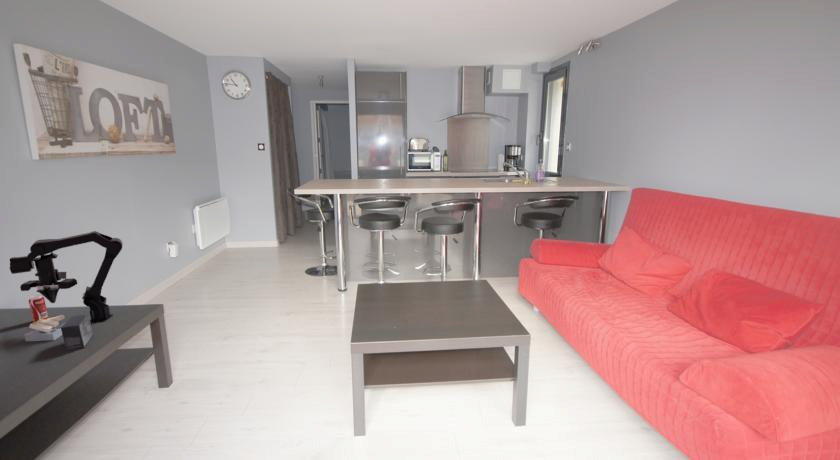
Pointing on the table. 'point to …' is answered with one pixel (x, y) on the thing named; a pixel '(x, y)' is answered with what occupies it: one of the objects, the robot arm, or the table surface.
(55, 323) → the rocker
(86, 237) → the robot arm
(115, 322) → the table surface
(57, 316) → the rocker
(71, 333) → the small box
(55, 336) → the switch unit
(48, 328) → the rocker
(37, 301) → the soda can
